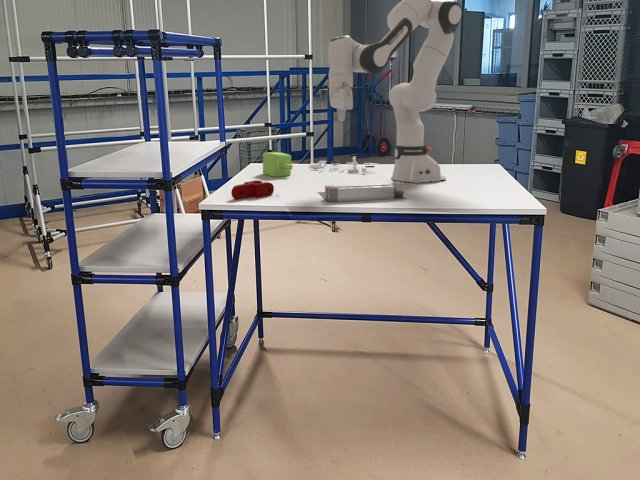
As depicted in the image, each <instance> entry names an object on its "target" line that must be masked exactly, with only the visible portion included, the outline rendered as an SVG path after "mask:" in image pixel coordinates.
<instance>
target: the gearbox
mask: <svg viewBox="0 0 640 480" xmlns="http://www.w3.org/2000/svg"><path fill="white" fill-rule="evenodd" d="M293 167H294V166H293V164H292V155H291V154H288V153H284V152H278V151H277V152H275V151H273V152H263V153H262V174H265V175H267V176H270V177H275V178H276V177H277V178H278V177H280V178H281V177H287V176H291V173H292V171H291V170H293Z"/></svg>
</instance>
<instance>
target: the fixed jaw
mask: <svg viewBox="0 0 640 480" xmlns="http://www.w3.org/2000/svg"><path fill="white" fill-rule="evenodd" d="M391 184H392V185H390V186H370V187H346V188H337V187H328V196H327V200H328V201H329V202H333V203H339V202H338V201H354V202H360V201H359V200H375V201H381V200H380V199H394V198H403V197H405V196H404V195H405V193H404V192H405V181H393V182H392V183H391Z"/></svg>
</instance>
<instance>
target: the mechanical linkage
mask: <svg viewBox="0 0 640 480" xmlns="http://www.w3.org/2000/svg"><path fill="white" fill-rule="evenodd" d="M274 186H275V185H273V183H272V182H267V181H265V182H263V181H261V180H258V179H257V180H251V181H246V182H245V181H244V182H243V183H242V184H237V185H234V186H233V187H232V189H231V192H230V193H231V196H232V198H233V199H234V200H238V201H239V199H241V200H245V199H244V198H246V199H250V197H251V198H255V197H256V199H259V197H260V198H264V197H269V196H270V197H271V196H272V195H273V193H274V190H275V187H274Z"/></svg>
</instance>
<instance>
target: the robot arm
mask: <svg viewBox="0 0 640 480" xmlns="http://www.w3.org/2000/svg"><path fill="white" fill-rule="evenodd" d="M386 18H387V19H386V21H387V22H386V24H387V26H388V28H389V31H388V32H387V33H386V34H385V36H384V37H383V38H382V39H381V40H379V42H378V41H377V42H375V43H372V44H361V43H359V42H357V41H355V40H354V39H352V37H351V36H350V35H347V34H346V35H339V36H335V37H333V38H331V39H330V40H329V43H328V51H327V53H328V54H327V55H328V57H327V58H328V59H327V62H328V67H329V71H328V80H327V83H326V84H327V86H326V87H327V88H328V96H329V98H328V99H329V104H330V107H331V108H335V109H336V112H337V119H338V121H339V122H345V120H346V112H347V111H349V110H351V111H352V110H353V109H354V99H353V89H352V88H353V87H354V74H353V73H364V74H365V73H369V74H380V73H381V72H382V73H383V71H384V70H385V69H386V68H387V66H388V64H389V62H390V60H391V59H392V57H393V55H394V53H395V52H396V51H397V50H398V49H399V48H400V47H401V46H402V45H403V44H404V42H406V40H407V39H408V38H409V36H410V35H411V33H412V32H413V31H415V29H416V28H417V27H420V28H426V29H428V35H427V37H426V39H425V40H424V42H423V44H422V46H421V48H420V49H419V52H418V54H417V56H416V58H415V60H414V61H413V65H412V69H413V74H412V78H411V80H410V82H402V83H398V84H396V85H394V86H393V87H392V88H391V89H390V91H389V94H388V99H389V104H390V105H391V106H392V109H393V112H394V118H395V123H396V143H395V146H394V148H395V149H394V168H393V171H392V175H391V180H394V181H396V182H404V183H405V182H406V183H408V182H409V183H412V184H413V183H417V184H418V183H419V184H420V183H429V182H430V181H432V182H440V181H441V180H444V181H446V179H447V178H446V176H445V175H443V174H442V173H441V172H442V171H441V166H440V165H439V163H438V162H437V161H436V160H435V159H433V158H432V157H431V156H430V155H429V154H428V153H430V152H432V147H431V146H425V145H424V141H425V126H424V124H423V123H424V122H422V119H421V116H420V112H425V111H428V110H431V109H433V107H434V106H435V105H436V101H437V92H436V85H437V81H438V77H439V76H440V75H439V74H441V71H442V69H443V67H444V65H445V62H446V60H447V59H448V57H449V54H450V51H451V49H452V47H453V44H454V40H455V35H454V34H455V33H454V32H455V31H456V30H457V29H458V26H459V25H460V23H461V20H462V18H463V8H462V5H461V3H460V2H458V1H456V0H400V2H398V3H397V4H396V5H395V6H394V7H393V8H392V9H391V11H389V13H388V15H387V17H386Z"/></svg>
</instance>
